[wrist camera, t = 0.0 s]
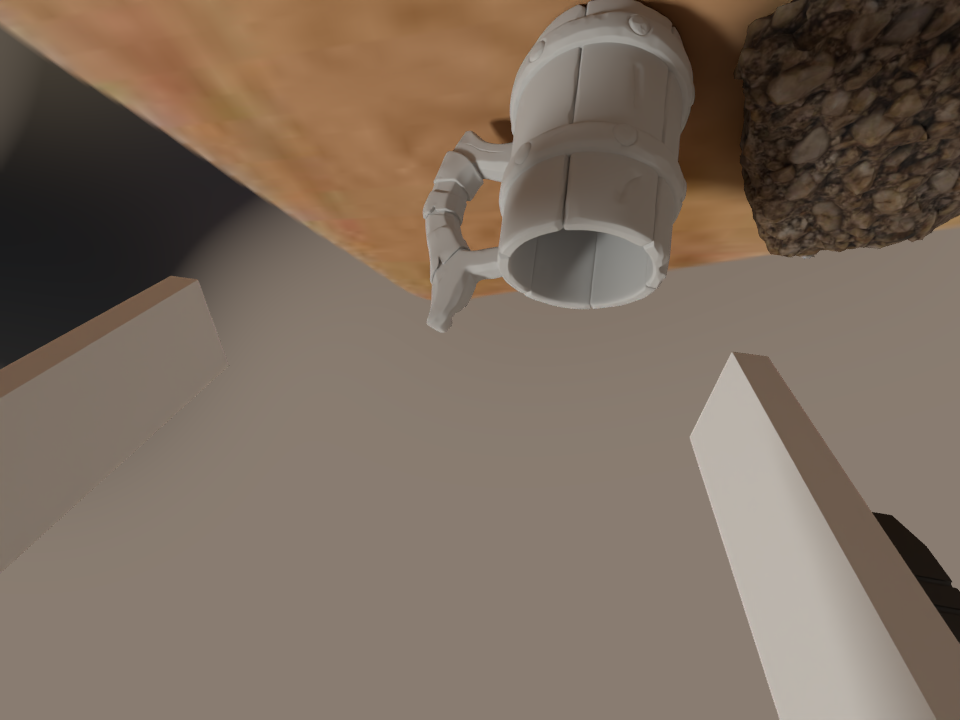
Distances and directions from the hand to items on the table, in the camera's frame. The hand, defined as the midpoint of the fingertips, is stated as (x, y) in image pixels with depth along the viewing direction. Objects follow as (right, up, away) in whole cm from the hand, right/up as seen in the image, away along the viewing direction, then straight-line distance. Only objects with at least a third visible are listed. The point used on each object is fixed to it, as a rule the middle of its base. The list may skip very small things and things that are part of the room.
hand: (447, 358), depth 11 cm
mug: (+4, +13, +9) cm, 16 cm away
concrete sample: (+17, +12, +7) cm, 22 cm away
